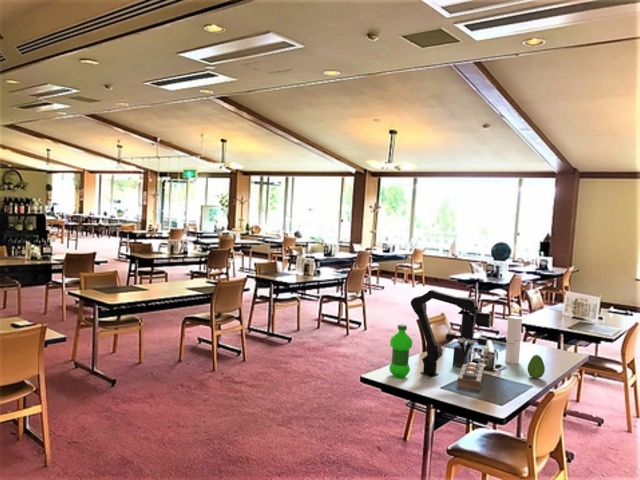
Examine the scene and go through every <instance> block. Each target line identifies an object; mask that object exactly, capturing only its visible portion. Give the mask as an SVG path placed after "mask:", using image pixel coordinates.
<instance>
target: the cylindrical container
mask: <svg viewBox="0 0 640 480" xmlns="http://www.w3.org/2000/svg"><path fill="white" fill-rule="evenodd" d="M522 325H523V318H522V316H517V315H516V316H515V315H509V316H508V317H507V330H506V331H507V332H506V344H505V356H504V361H505V362H506V363H508V364H513V363H517V364H519V363H520V353H521V352H520V350H521V339H522Z"/></svg>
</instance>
